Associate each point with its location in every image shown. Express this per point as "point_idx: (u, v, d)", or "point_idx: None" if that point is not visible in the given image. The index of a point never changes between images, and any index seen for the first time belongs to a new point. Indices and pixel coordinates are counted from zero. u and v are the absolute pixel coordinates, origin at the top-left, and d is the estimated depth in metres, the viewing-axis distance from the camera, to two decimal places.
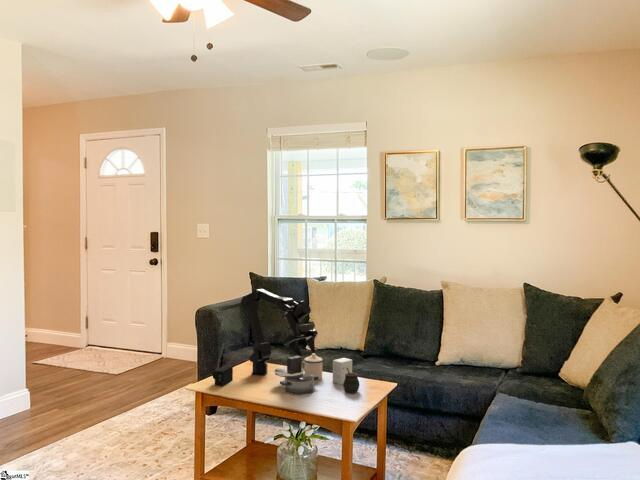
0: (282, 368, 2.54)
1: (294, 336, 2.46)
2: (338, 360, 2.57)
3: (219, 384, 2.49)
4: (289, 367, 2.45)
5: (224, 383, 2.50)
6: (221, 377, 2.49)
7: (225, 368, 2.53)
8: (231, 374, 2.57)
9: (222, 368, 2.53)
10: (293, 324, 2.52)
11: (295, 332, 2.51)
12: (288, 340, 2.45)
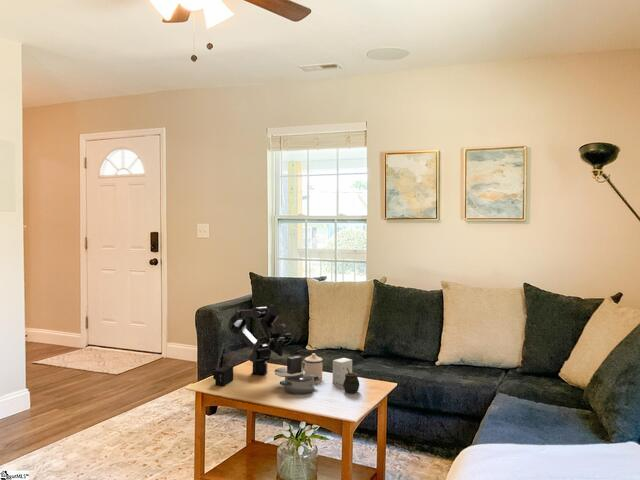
0: (282, 368, 2.54)
1: (264, 338, 2.54)
2: (338, 360, 2.57)
3: (220, 384, 2.49)
4: (289, 367, 2.45)
5: (225, 383, 2.50)
6: (222, 377, 2.49)
7: (226, 368, 2.53)
8: (231, 374, 2.57)
9: (223, 368, 2.53)
10: (266, 329, 2.61)
11: (268, 336, 2.59)
12: (258, 342, 2.54)
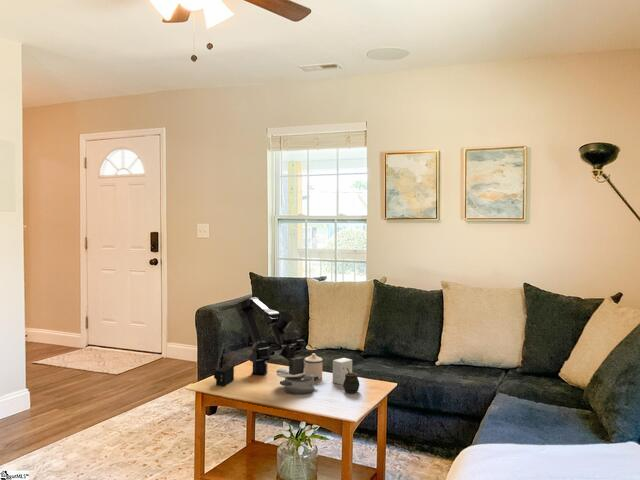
0: (284, 369, 2.53)
1: (276, 345, 2.46)
2: (338, 360, 2.57)
3: (220, 384, 2.49)
4: (291, 368, 2.44)
5: (225, 383, 2.50)
6: (222, 377, 2.49)
7: (226, 368, 2.53)
8: (232, 374, 2.57)
9: (223, 368, 2.53)
10: (278, 335, 2.53)
11: (280, 342, 2.52)
12: (270, 349, 2.46)
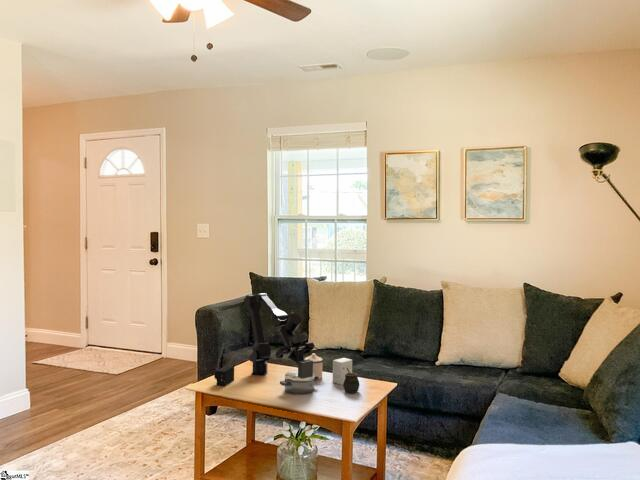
0: (292, 372, 2.48)
1: (285, 348, 2.41)
2: (338, 360, 2.57)
3: (221, 384, 2.49)
4: (300, 371, 2.39)
5: (226, 383, 2.50)
6: (223, 377, 2.48)
7: (227, 368, 2.53)
8: (232, 374, 2.57)
9: (224, 368, 2.53)
10: (286, 337, 2.48)
11: (289, 345, 2.46)
12: (279, 352, 2.40)
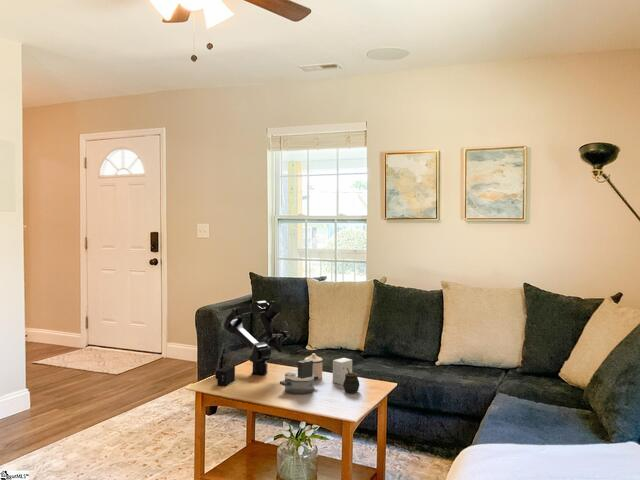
0: (292, 372, 2.48)
1: (269, 333, 2.56)
2: (338, 360, 2.57)
3: (222, 384, 2.49)
4: (300, 371, 2.39)
5: (227, 383, 2.50)
6: (224, 377, 2.48)
7: (227, 368, 2.53)
8: (233, 374, 2.57)
9: (224, 368, 2.53)
10: (267, 324, 2.63)
11: (269, 331, 2.61)
12: (263, 336, 2.54)
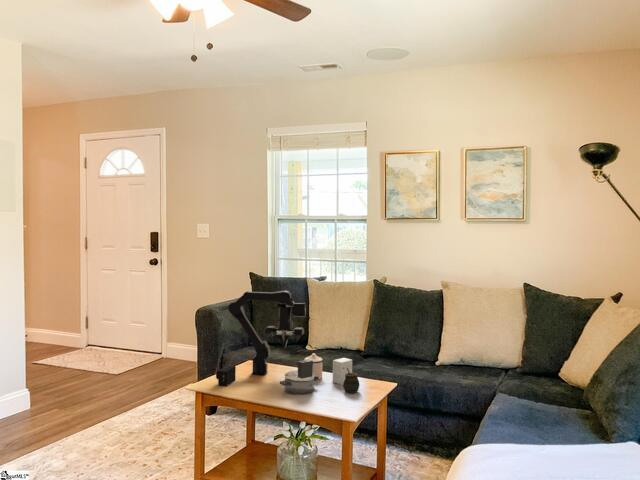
0: (292, 372, 2.48)
1: None
2: (338, 360, 2.57)
3: (223, 384, 2.49)
4: (300, 371, 2.39)
5: (228, 383, 2.50)
6: (225, 377, 2.48)
7: (228, 368, 2.53)
8: (234, 374, 2.57)
9: (225, 368, 2.53)
10: None
11: (290, 325, 2.70)
12: (303, 332, 2.69)
